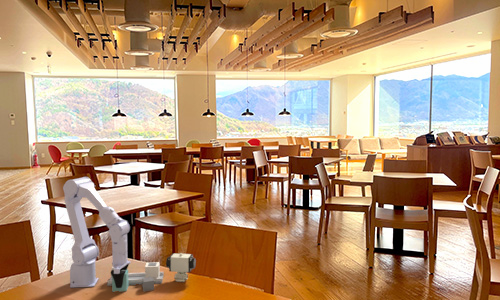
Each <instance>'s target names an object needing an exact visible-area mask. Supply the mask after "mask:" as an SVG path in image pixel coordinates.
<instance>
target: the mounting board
mask: <svg viewBox="0 0 500 300" xmlns="http://www.w3.org/2000/svg"><path fill="white" fill-rule="evenodd" d="M160 269H161V268H160V262H159V261H153V262H146V263H145V267H144V272H128V281H129V286H136V284H139V285H142V278H148V277H153V279H154V285H155V284H157V285H160V284H161V285H162V284H163V279H164V274H165V273H164V271H161V270H160ZM111 270H114V268H113V266H112V267H111ZM106 286H107V287H111V286H112V275H111V274H110V278H109V280H107V284H106Z"/></svg>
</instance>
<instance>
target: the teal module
mask: <svg viewBox="0 0 500 300" xmlns="http://www.w3.org/2000/svg"><path fill="white" fill-rule="evenodd" d="M122 271H126V272H125V274H124V278H123V285H122V288H116V285H115V282H114V279H113V277H112V290H111V291H112V293H114V292H115V291H119V292H128V289H129V286H130V285H129V281H128V273H129V269H127V270H122ZM115 293H116V292H115Z"/></svg>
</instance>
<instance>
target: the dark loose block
mask: <svg viewBox="0 0 500 300" xmlns="http://www.w3.org/2000/svg"><path fill="white" fill-rule="evenodd" d="M141 285H142V290H143V292H150V291H154V290H155V284H154V279H153V277H148V278H142V284H141Z"/></svg>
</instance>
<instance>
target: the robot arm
mask: <svg viewBox="0 0 500 300" xmlns="http://www.w3.org/2000/svg"><path fill="white" fill-rule="evenodd" d="M62 189H63V193H64V204H65V208H66V211H67V215H68V219H69V223H70V227H71V230H72V234H73V235H72V236H73V238H74V243H73V245H72V247H71V252H72V253H71V260H72V261H73V262H72V263H71V264H70V268H69V269H70V270H69V282H70V286H69V288H88V287H89V288H90V287H91V288H92V287H95V286H96V284H97V282H98V281H99V279H100V278H99V277H96V261H97V257H99V255H100V254H99V253H100V250H99V246H97V243H96V241H95V239H93V238H91V237H90V235H89V231H88V226H87V223H86V219H85V215H84V213H83V209H82V205H81V200H82V198H85V199H87V200H88V201H89V202H90V203H91V204H92V205H93V206H94V207H95V208H96V209H97V211H98V212H99V213H98V216H99V218H100V219H101V220H102V222H103V223H104V224H105V225H106V227H107V228H108V229H109V230H107V231H108V234H109V236H110V240H111V247H112V250H111V251H112V252H111V253H112V255H111V256H112V262H111V265H112V267H113V268H114V270H112V269H111V271H110V276H111V275H112V277H113V279H114V282H115V285H116V288H122V285H123V278H124V274H125V272H126V271H122V270H128V268H129V265H130V264H131V262H132V261H131V260H128V233H129V232H130V230H131V226H130V225H131V224H129V221H128V220H126V219H123V218H122V217H120V215H118V213H117V212H116V210H115V209H114V207H111V206H110V205H109V206H107V204H106V203H105V201H104V200H103V199H102V197H101V196H100V194H99V193H98V191H97V190H96V188H95V183H94V182H93V181H92V179H90V178H89V177H88V176H83V177H79V178H74V179H68V180H67V181H65V183H64V184H63V186H62Z"/></svg>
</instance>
